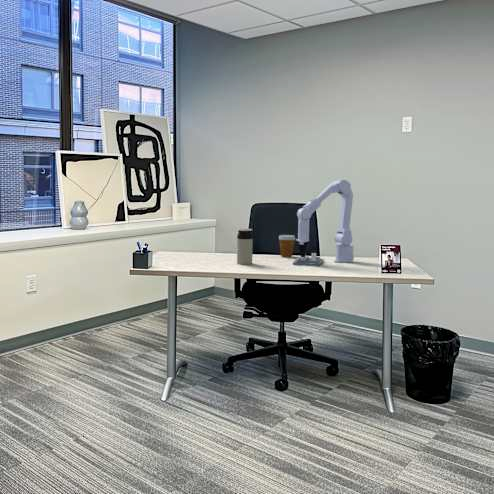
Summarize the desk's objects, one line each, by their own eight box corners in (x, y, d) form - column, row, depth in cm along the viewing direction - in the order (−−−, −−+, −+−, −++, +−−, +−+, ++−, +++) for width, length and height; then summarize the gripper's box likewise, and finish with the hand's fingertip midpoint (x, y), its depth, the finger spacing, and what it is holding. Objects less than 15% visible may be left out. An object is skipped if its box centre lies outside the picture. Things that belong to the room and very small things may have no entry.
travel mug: (250, 265, 289) (251, 230, 286) (235, 264, 290) (235, 229, 288) (253, 262, 296) (254, 228, 294) (238, 262, 298) (239, 228, 296)
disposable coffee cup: (274, 256, 320) (275, 235, 319) (287, 255, 326) (287, 234, 324) (285, 258, 313) (286, 237, 311) (298, 257, 318) (298, 236, 317)
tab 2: (316, 260, 295) (316, 252, 295) (315, 262, 291) (315, 253, 291) (311, 260, 296) (312, 252, 295) (310, 261, 292) (311, 253, 291)
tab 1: (306, 259, 301) (306, 251, 300) (305, 260, 297) (305, 252, 297) (301, 258, 302) (301, 250, 301) (300, 260, 298) (300, 251, 297)
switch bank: (323, 261, 305) (323, 256, 304) (320, 266, 287) (320, 261, 287) (297, 259, 308) (298, 255, 308) (292, 264, 291) (293, 260, 290)
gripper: (298, 229, 303) (297, 254, 305) (293, 232, 289) (293, 258, 291) (311, 229, 301) (310, 255, 303) (307, 232, 287) (306, 258, 289)
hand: (302, 256), depth 297 cm, fingers closed
